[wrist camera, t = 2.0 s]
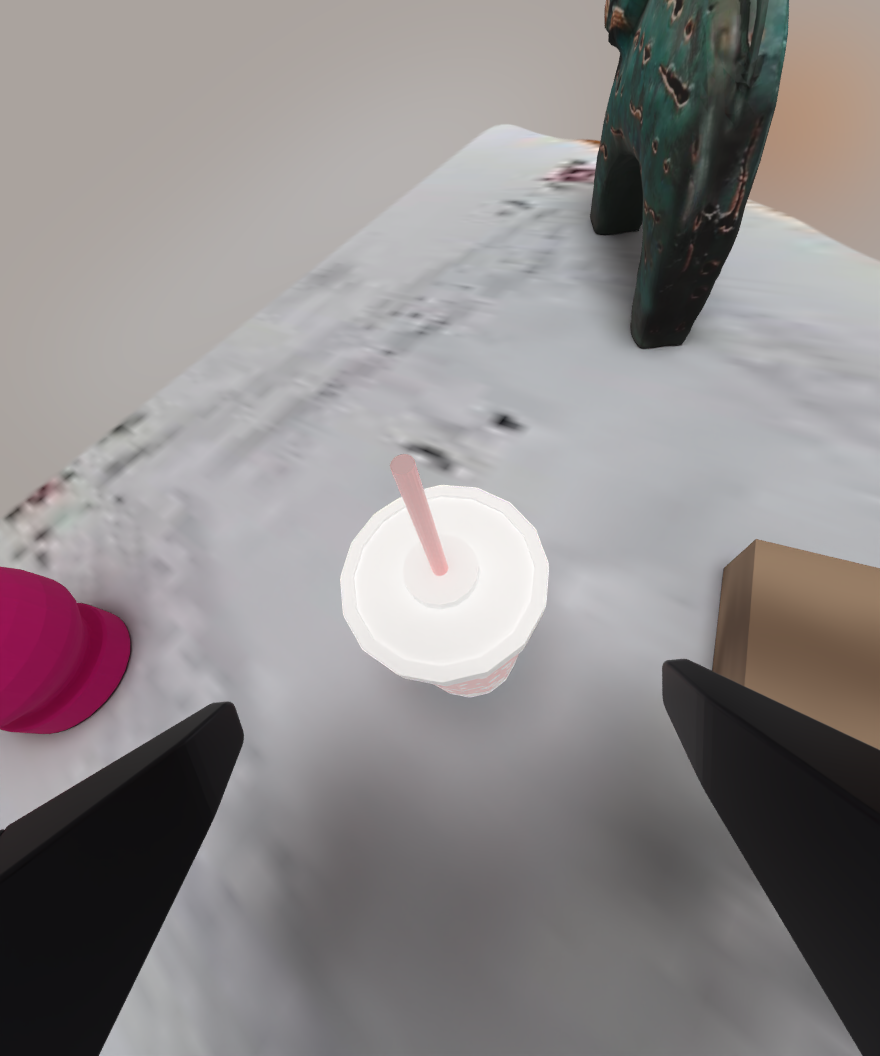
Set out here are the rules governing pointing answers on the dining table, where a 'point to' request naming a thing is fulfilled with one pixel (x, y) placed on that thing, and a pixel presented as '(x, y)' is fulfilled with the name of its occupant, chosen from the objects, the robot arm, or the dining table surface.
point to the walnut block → (804, 634)
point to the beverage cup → (445, 584)
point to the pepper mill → (54, 655)
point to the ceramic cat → (684, 143)
